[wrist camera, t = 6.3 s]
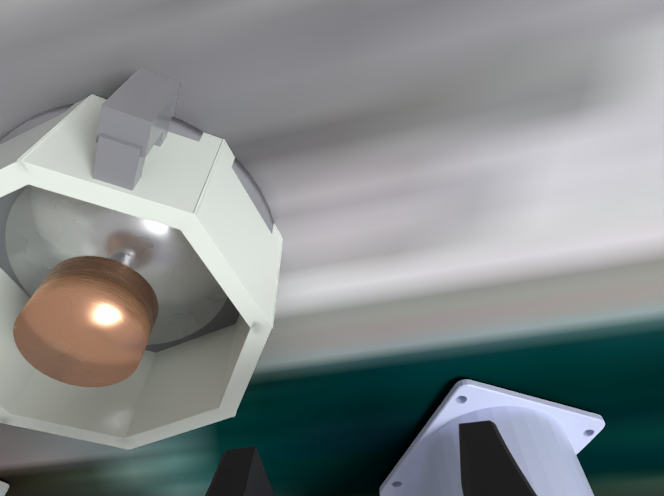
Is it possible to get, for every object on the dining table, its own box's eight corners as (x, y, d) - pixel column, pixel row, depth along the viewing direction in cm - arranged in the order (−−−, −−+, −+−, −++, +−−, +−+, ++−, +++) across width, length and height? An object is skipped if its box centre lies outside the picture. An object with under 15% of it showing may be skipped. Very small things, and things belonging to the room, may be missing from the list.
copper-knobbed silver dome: (206, 355, 22) (182, 451, 19) (7, 305, 21) (-64, 399, 17) (260, 201, 18) (243, 282, 14) (18, 123, 17) (-71, 192, 13)
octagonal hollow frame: (234, 371, 24) (216, 471, 20) (-23, 307, 22) (-103, 404, 18) (334, 121, 18) (338, 192, 14) (-15, -6, 15) (-138, 32, 11)
